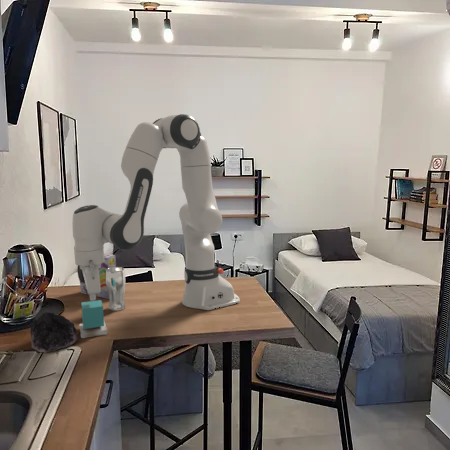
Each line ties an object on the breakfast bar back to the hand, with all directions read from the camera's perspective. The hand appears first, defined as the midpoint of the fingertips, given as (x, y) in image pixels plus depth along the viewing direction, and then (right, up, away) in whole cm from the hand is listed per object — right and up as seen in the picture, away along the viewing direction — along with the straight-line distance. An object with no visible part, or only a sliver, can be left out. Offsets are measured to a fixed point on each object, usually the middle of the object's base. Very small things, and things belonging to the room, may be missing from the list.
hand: (92, 299), depth 131 cm
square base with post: (0, -11, +2) cm, 11 cm away
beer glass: (+2, -8, +22) cm, 23 cm away
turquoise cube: (0, -8, +1) cm, 8 cm away
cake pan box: (-10, -5, +36) cm, 38 cm away
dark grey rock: (-10, -13, -7) cm, 17 cm away
